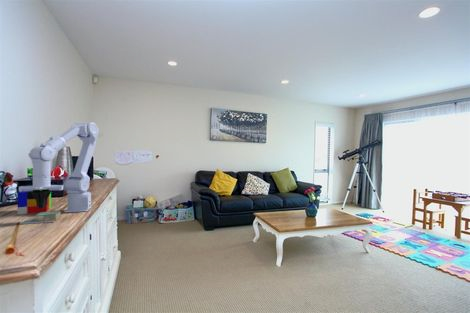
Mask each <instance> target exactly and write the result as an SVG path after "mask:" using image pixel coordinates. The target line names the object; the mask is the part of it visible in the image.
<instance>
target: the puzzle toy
mask: <svg viewBox="0 0 470 313" xmlns="http://www.w3.org/2000/svg"><path fill="white" fill-rule="evenodd" d="M32 192H33V191H21V192H19V191H18V192H17V215H28V214H30V215H31V214H39V213H40V212H46V211H47V212H49V210H51V208H52V192H51V193H50V195H49V196H48V198H47V201H46V204H45V207H44V208H38V204H37V202H36V200H35V198H34V197H33V195H32Z"/></svg>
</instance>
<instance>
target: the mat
mask: <svg viewBox="0 0 470 313" xmlns="http://www.w3.org/2000/svg"><path fill="white" fill-rule="evenodd" d="M61 217H62V215H60V218H61ZM56 221H57V220H51V221H36V222H35V217H29V218H28V219H26V220H24V221H22V222H20V223H19V224H20V225H21V226H22V225H32V224H48V223H55V222H56Z"/></svg>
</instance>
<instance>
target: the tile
mask: <svg viewBox="0 0 470 313" xmlns="http://www.w3.org/2000/svg"><path fill="white" fill-rule="evenodd" d="M60 216H61V211H60V210H57V211H47V212H40V213H36V214H35V216H34V218H35V222H36V221H51V220H56V221H57V220H59V219H60V218H61V217H60Z"/></svg>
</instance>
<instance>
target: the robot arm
mask: <svg viewBox="0 0 470 313" xmlns="http://www.w3.org/2000/svg"><path fill="white" fill-rule="evenodd" d="M99 132H100V129H99V127H98V125H97V124H96V123H95V122H93V121H92V122H75V123H73V124H71V126H70V127H69V128H68V129H67V130H65V131H64V132H63V133H62V134H61V135H59V136H58V135H57V136H51V137H49V139H48V140H47V141H45V142H42V143H40V146H34V147H33V148H32V149H31V150H30V151H29V153H28V157H29V158H30V160H31V164H32V185H21V186H18V192H21V191H33V192H32V195H33V197H34V198H35V200H36V202H37V204H38V208H44V207H45V204H46V201H47V198H48V196H49V195H50V193H51V194H52V191H63V190H65V192H66V193H67V209H65V210H64V212H63V213H79V212H80V213H81V212H82V213H83V212H88V211H89V210H90V209H91V208H92V193H91V192H90V191H88V190H89V188H90V185H91V184H90V180H91V178H90V176H89V175H88V170H89V167H90V164H91V162H92V157H93V154H94V151H95V148H96V145H97V138H98V135H99ZM75 137H77V138H78V139H79V140H80V141H81V142H82V146H81V149H80V151H79V155H78V157H77V160H76V163H75V166H74V169H73V172H71V173H69V174H68V175H67V178H66V179H65V180H64V181H63V183H62V184H51V182H52V181H51V176H52V175H51V174H52V172H51V170H52V168H51V166H52V165H51V164H52V163H51V162H52V160H54V158H55V156H56V154H57V153H59V151H61V150H62V149H63V148H64V147H66V143H67V142H68V141H70V140H71V139H73V138H75Z"/></svg>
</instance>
